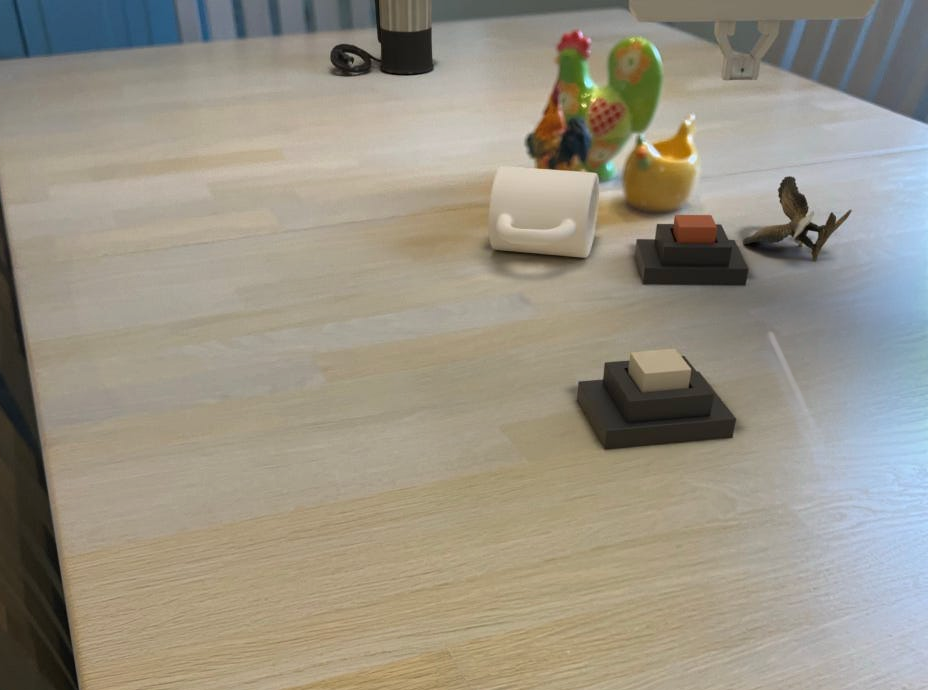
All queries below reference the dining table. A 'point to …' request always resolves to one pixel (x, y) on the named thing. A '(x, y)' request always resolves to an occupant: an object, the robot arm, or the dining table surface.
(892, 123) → the dining table surface
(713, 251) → the dark grey stepped base
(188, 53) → the dining table surface
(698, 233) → the terracotta key
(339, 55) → the milk frother
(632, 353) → the cream key
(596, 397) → the black stepped base
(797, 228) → the eagle figurine
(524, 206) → the mug
